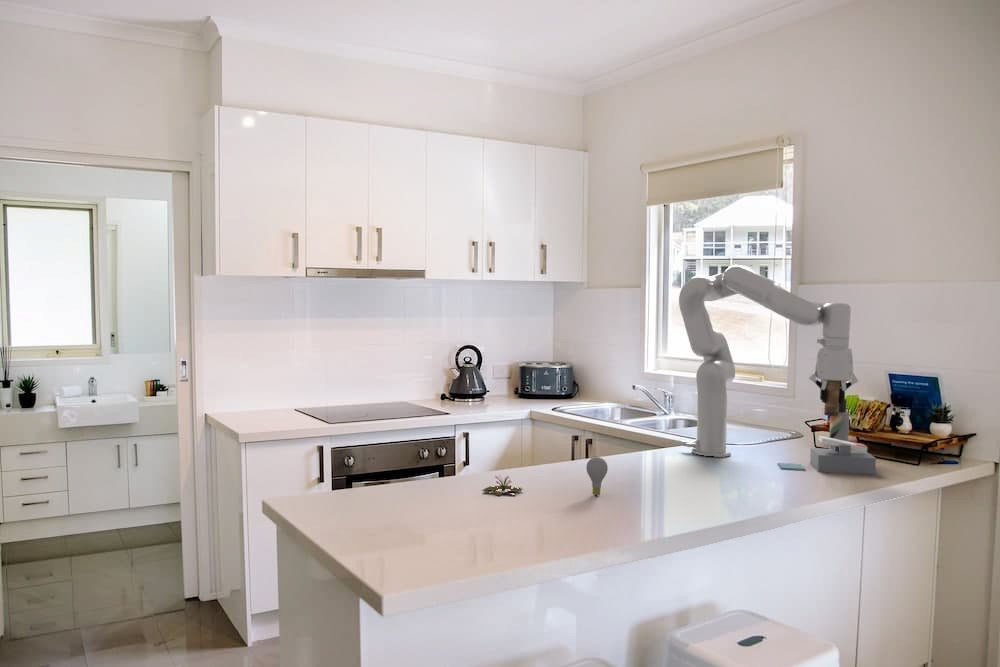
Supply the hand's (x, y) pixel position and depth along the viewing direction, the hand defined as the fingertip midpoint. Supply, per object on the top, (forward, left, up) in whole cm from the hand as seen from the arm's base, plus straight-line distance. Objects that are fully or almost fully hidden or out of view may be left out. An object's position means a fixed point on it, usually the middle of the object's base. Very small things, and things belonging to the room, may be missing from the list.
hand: (831, 402), depth 230 cm
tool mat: (-11, -1, -21) cm, 24 cm away
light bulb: (-67, -52, -21) cm, 88 cm away
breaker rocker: (+4, +1, -13) cm, 13 cm away
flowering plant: (-92, -54, -21) cm, 109 cm away
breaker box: (+4, +1, -21) cm, 21 cm away
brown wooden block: (0, 0, -4) cm, 4 cm away
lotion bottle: (+7, +19, -21) cm, 29 cm away
